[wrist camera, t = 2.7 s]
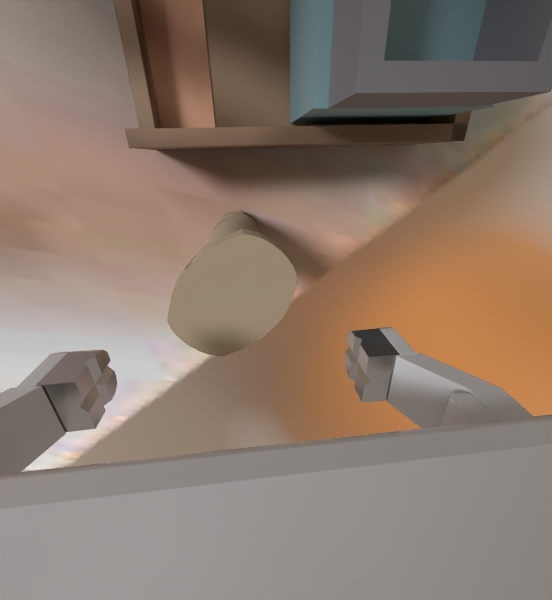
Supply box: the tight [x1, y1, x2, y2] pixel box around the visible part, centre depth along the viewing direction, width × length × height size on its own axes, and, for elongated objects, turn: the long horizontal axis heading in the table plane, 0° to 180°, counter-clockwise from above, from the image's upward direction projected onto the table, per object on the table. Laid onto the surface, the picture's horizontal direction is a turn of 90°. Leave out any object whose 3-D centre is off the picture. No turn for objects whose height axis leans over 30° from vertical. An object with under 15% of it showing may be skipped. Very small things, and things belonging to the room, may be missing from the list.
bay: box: [113, 0, 471, 150], centre depth 18 cm, size 13×22×6 cm, turn 91°
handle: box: [168, 210, 298, 356], centre depth 19 cm, size 5×6×15 cm
